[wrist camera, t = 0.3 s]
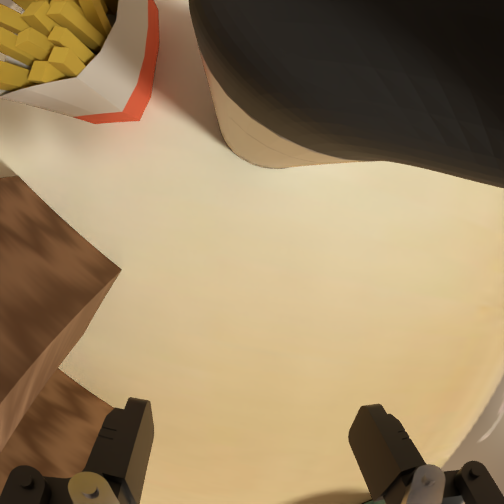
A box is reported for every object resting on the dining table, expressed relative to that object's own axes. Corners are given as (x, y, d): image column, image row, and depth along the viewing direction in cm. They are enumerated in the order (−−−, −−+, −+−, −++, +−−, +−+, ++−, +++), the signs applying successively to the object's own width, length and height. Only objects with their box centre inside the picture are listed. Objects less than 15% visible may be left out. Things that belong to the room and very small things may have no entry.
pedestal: (22, 385, 29) (-57, 508, 3) (33, 348, 28) (-75, 495, 2) (102, 442, 32) (60, 584, 6) (127, 416, 31) (78, 595, 5)
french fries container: (167, 22, 20) (109, -109, 2) (152, 125, 23) (21, 57, 5) (123, 26, 19) (34, -79, 2) (105, 127, 22) (-47, 89, 5)
